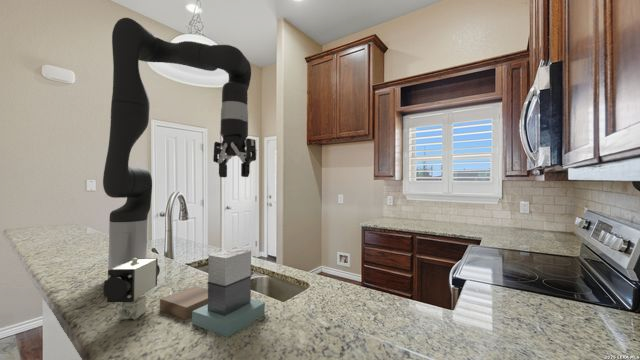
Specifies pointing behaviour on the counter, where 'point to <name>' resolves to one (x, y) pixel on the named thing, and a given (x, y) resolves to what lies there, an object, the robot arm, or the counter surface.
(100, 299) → the counter surface
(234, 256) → the block
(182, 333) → the counter surface
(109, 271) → the pneumatic valve
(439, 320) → the counter surface
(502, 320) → the counter surface
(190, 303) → the stand
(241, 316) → the stand
